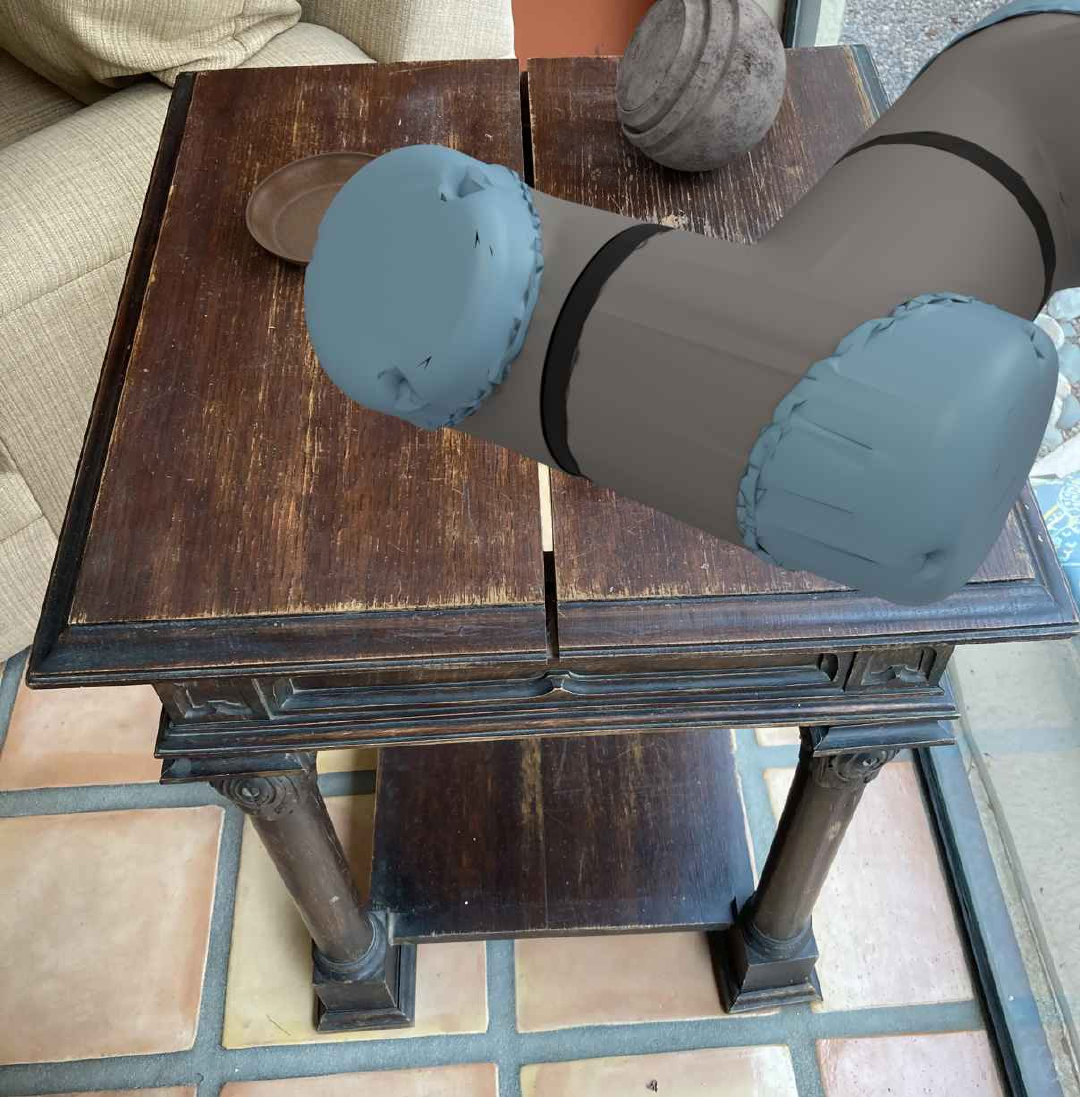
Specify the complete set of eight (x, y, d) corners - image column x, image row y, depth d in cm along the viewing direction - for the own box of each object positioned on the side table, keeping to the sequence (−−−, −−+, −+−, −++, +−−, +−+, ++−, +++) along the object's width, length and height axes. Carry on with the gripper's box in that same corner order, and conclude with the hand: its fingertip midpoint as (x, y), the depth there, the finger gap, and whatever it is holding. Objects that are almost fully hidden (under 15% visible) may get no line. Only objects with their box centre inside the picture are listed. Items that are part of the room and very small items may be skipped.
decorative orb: (601, 116, 100) (607, -47, 88) (749, 104, 101) (776, -59, 89) (627, 212, 92) (637, 47, 80) (788, 198, 93) (823, 32, 81)
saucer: (295, 309, 85) (288, 283, 83) (226, 213, 93) (218, 187, 91) (453, 245, 90) (450, 219, 88) (376, 158, 97) (371, 132, 95)
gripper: (487, 362, 45) (710, 426, 65) (713, 543, 39) (881, 553, 59) (578, 204, 43) (780, 321, 62) (833, 371, 37) (966, 442, 57)
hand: (829, 433), depth 61 cm, fingers closed
